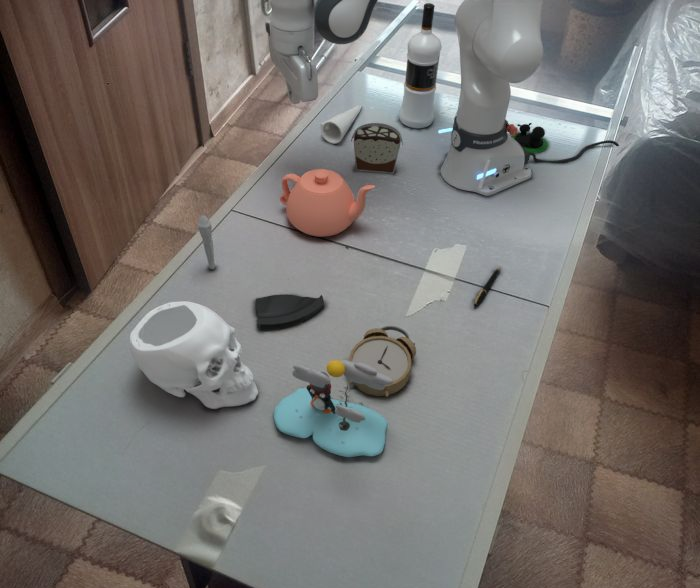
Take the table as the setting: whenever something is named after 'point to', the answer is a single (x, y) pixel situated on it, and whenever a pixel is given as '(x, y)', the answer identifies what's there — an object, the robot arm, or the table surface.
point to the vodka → (421, 74)
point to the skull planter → (192, 354)
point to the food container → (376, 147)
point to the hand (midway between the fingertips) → (294, 100)
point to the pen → (207, 239)
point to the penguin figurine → (334, 411)
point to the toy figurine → (531, 138)
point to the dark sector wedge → (286, 310)
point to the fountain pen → (486, 288)
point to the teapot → (321, 202)
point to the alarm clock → (385, 358)
